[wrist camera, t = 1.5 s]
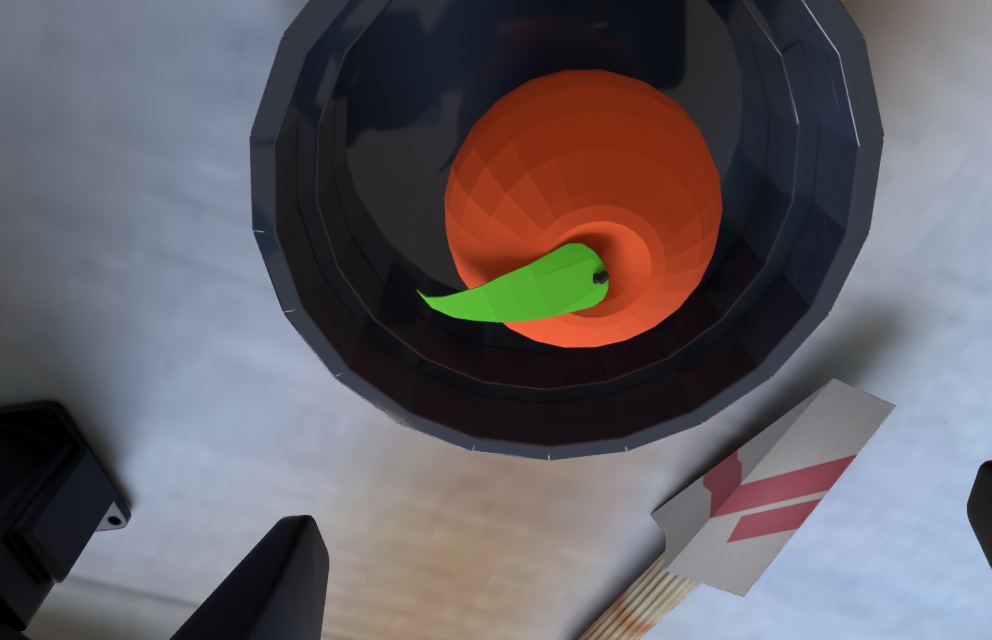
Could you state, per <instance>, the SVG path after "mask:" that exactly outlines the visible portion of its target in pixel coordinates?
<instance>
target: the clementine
mask: <svg viewBox="0 0 992 640" xmlns="http://www.w3.org/2000/svg"><path fill="white" fill-rule="evenodd" d="M444 199H445V220H446V233H447V238H448V243H449V247H450V250H451V253H452V255H453V258H454V261H455V264H456V267H457V270H458V273H459V275H460V277H461V278H462V280H463V281H464V282H465V284H466V285H467V287H468V288H469V289H468V290H465V291H461V292H458V293H454V294H450V295H447V296H437V297H427V296H426V295H424V294H423V293H422V292H420V291H419V290H418V289H417V290H416V291H417V292H418V293H419V294H420V295H421V296H422V297H423V299H424V300H425V301H426V302H427V303H428V304H429V305H430V307H431V308H433V309H436V310H438V311H440V312H442V313H445V314H447V315H449V316H452V317H454V318H461V319H468V320H475V321H488V322H502V323H504V324H505V325H506V326H507V327H508V328H510V329H512V330H514V331H516V332H518V333H520V334H522V335H524V336H526V337H529V338H531V339H533V340H535V341H538V342H543V343H547V344H552V345H557V346H561V347H598V346H603V345H607V344H611V343H616V342H620V341H625V340H627V339H629V338H632V337H634V336H636V335H638V334H640V333H642V332H645V331H647V330H649V329H651V328H653V327H655V326H656V325H657V324H659V323H660V322H661V321H663V320H664V319H665V318H667V317H668V316H669V315H671V314H672V313H673V312H674V311H676V310H677V309H678V308H679V307H680V306H681V305H682V304H683V303H684V301H685V300H686V299H687V298H688V297H689V295H690V294H691V293H692V292H693V290H694V289H695V288H696V287H697V286H698V284H699V283H700V281H701V279H702V277H703V274H704V272H705V270H706V268H707V266H708V264H709V262H710V260H711V258H712V256H713V252H714V249H715V245H716V242H717V237H718V231H719V226H720V220H721V215H722V199H721V189H720V179H719V174H718V172H717V169H716V167H715V164H714V162H713V160H712V157H711V155H710V152H709V150H708V148H707V145H706V143H705V141H704V138H703V136H702V134H701V131H700V129H699V128H698V127H697V126H696V124H695V123H694V122H693V121H692V120H691V119H690V117H689V116H688V115H687V114H686V113H685V111H684V110H683V109H682V108H681V107H680V106H679V104H678V103H677V102H675V101H674V100H672V99H671V98H669V97H667V96H666V95H664V94H663V93H661V92H660V91H658V90H656V89H655V88H653V87H652V86H650V85H649V84H647V83H645V82H643V81H640V80H637V79H634V78H631V77H627V76H624V75H620V74H616V73H613V72H609V71H606V70H602V69H592V70H563V71H559V72H556V73H552V74H549V75H545V76H542V77H538V78H534V79H531V80H529V81H527V82H526V83H524V84H522V85H521V86H519V87H517V88H516V89H514V90H512V91H511V92H509V93H507V94H506V95H504V96H502V97H501V98H499V99H498V100H497V101H496V102H495V103H494V104H493V105H492V106H491V107H490V108H489V109H488V110H487V111H486V113H485V114H484V115H483V116H482V117H481V118H480V119H479V120H478V121H477V122H476V123H475V124H474V126H473V127H472V129H471V130H470V132H469V134H468V136H467V138H466V139H465V141H464V143H463V145H462V147H461V148H460V150H459V152H458V154H457V156H456V157H455V159H454V161H453V163H452V167H451V171H450V175H449V180H448V184H447V188H446V192H445V197H444Z"/></svg>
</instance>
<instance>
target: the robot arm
mask: <svg viewBox="0 0 992 640" xmlns="http://www.w3.org/2000/svg"><path fill="white" fill-rule="evenodd" d="M48 413H49V414H48ZM50 414H51V415H50ZM967 515H968V518H969V521H970V524H971V526H972V528H973V530H974V533H975V535H976V537H977V539H978V541H979V543H980V545H981V548H982V550H983V552H984V554H985V556H986V558H987V560H988V562H989V565H990V567H991V569H992V460H989V461H986V462H984V463H983V464H982V465H981V466H980V468H979V470H978V473H977V476H976V479H975V482H974V485H973V488H972V490H971V493H970V496H969V499H968V503H967ZM130 518H131V512H130V510H129V509H128V507H127V506H126V504H125V502H124V501H123V499H122V498H121V496H120V494H119V493H118V491H117V490H116V488H115V486H114V485H113V483H112V482H111V480H110V479H109V477H108V475H107V474H106V472H105V471H104V469H103V467H102V466H101V464H100V463H99V461H98V459H97V458H96V456H95V455H94V453H93V451H92V450H91V448H90V447H89V445H88V444H87V442H86V440H85V439H84V437H83V436H82V434H81V432H80V431H79V429H78V428H77V426H76V424H75V423H74V421H73V420H72V418H71V417H70V415H69V413H68V412H67V410H66V409H65V408H64V407H63V405H61V404H59V403H58V402H55V401H48V400H46V401H39V402H31V403H24V404H16V405H9V406H1V407H0V640H34V639H32V638H30V637H29V636H27V635H26V634H24V633H22V632H21V631H24V630H25V629H26V628H27V626H28V625H29V623H30V622H31V620H32V618H33V617H34V615H35V614H36V612H37V611H38V609H39V608H40V606H41V604H42V603H43V601H44V600H45V598H46V597H47V595H48V593H49V592H50V590H51V589H52V587H53V586H54V584H55V583H60V582H62V581H63V580H64V579H65V578H66V576H67V575H68V573H69V572H70V570H71V568H72V567H73V565H74V564H75V562H76V560H77V559H78V557H79V556H80V554H81V553H82V551H83V549H84V548H85V546H86V545H87V543H88V541H89V540H90V538H91V537H92V535H93V533H94V532H98V531H106V530H115V529H121V528H124V527H125V526H126V525H127V524H128V522H129V520H130ZM328 574H329V555H328V551H327V548H326V546H325V543H324V541H323V539H322V536H321V534H320V531H319V529H318V526H317V524H316V522H315V520H314V518H313V517H312V516H310V515H299V516H287V517H284V518H282V519H281V520H279V521H278V522H277V523H276V524H275V525H274V526H273V528H272V529H271V530H270V531H269V532H268V533H267V534H266V535H265V536H264V537H263V538H262V539H261V541H260V542H259V543H258V544H257V545H256V546H255V547H254V548H253V549H252V550H251V551H250V553H249V554H248V555H247V556H246V557H245V558H244V559H243V560H242V561H241V562H240V563H239V564H238V566H237V567H236V568H235V569H234V570H233V571H232V572H231V573H230V574H229V575H228V576H227V577H226V579H225V580H224V581H223V582H222V583H221V584H220V585H219V586H218V587H217V588H216V589H215V591H214V592H213V593H212V594H211V595H210V596H209V597H208V598H207V599H206V600H205V601H204V602H203V604H202V605H201V606H200V607H199V608H198V609H197V610H196V611H195V612H194V613H193V614H192V615H191V617H190V618H189V619H188V620H187V621H186V622H185V623H184V624H183V625H182V626H181V627H180V629H179V630H178V631H177V632H176V633H175V634H174V635H173V636H172V637H171V638H170V639H169V640H320V639H321V630H322V622H323V614H324V606H325V598H326V590H327V582H328Z"/></svg>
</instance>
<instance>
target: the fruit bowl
mask: <svg viewBox="0 0 992 640" xmlns="http://www.w3.org/2000/svg"><path fill="white" fill-rule="evenodd" d="M592 69H602V70H606V71H609V72H613V73H616V74H620V75H624V76H627V77H631V78H634V79H637V80H640V81H643V82H645V83H647V84H649V85H650V86H652V87H653V88H655V89H656V90H658V91H660V92H661V93H663V94H664V95H666V96H667V97H669V98H671V99H672V100H674V101H675V102H677V103H678V104H679V106H680V107H681V108H682V109H683V110H684V111H685V113H686V114H687V115H688V116H689V117H690V119H691V120H692V121H693V122H694V123H695V124H696V126H697V127H698V128H699V129H700V131H701V134H702V136H703V138H704V141H705V143H706V145H707V148H708V150H709V152H710V155H711V157H712V160H713V162H714V164H715V167H716V169H717V172H718V174H719V179H720V189H721V199H722V215H721V220H720V226H719V231H718V237H717V242H716V245H715V249H714V252H713V256H712V258H711V260H710V262H709V264H708V266H707V268H706V270H705V272H704V274H703V277H702V279H701V281H700V283H699V284H698V286H697V287H696V288H695V289H694V290H693V292H692V293H691V294H690V295H689V297H688V298H687V299H686V300H685V301H684V303H683V304H682V305H681V306H680V307H679V308H678V309H677V310H676V311H674V312H673V313H672V314H671V315H669V316H668V317H667V318H665V319H664V320H663V321H661V322H660V323H659V324H657V325H656V326H655V327H653V328H651V329H649V330H647V331H645V332H642V333H640V334H638V335H636V336H634V337H632V338H629V339H627V340H625V341H620V342H616V343H611V344H607V345H603V346H598V347H561V346H557V345H552V344H547V343H543V342H538V341H535V340H533V339H531V338H529V337H526V336H524V335H522V334H520V333H518V332H516V331H514V330H512V329H510V328H508V327H507V326H506V325H505V324H504V323H502V322H488V321H475V320H468V319H461V318H454V317H452V316H449V315H447V314H445V313H442V312H440V311H438V310H436V309H433V308H431V307H430V305H429V304H428V303H427V302H426V301H425V300H424V299H423V297H422V296H421V295H420V294H419V293H418V292H417V291H416V290H417V289H418V290H419V291H420V292H422V293H423V294H424V295H426V296H427V297H437V296H447V295H450V294H454V293H458V292H461V291H465V290H468V289H469V288H468V287H467V285H466V284H465V282H464V281H463V280H462V278H461V277H460V275H459V273H458V270H457V267H456V264H455V261H454V258H453V255H452V253H451V250H450V247H449V243H448V238H447V233H446V220H445V199H444V197H445V192H446V188H447V184H448V180H449V175H450V171H451V167H452V163H453V161H454V159H455V157H456V156H457V154H458V152H459V150H460V148H461V147H462V145H463V143H464V141H465V139H466V138H467V136H468V134H469V132H470V130H471V129H472V127H473V126H474V124H475V123H476V122H477V121H478V120H479V119H480V118H481V117H482V116H483V115H484V114H485V113H486V111H487V110H488V109H489V108H490V107H491V106H492V105H493V104H494V103H495V102H496V101H497V100H498V99H499V98H501V97H502V96H504V95H506V94H507V93H509V92H511V91H512V90H514V89H516V88H517V87H519V86H521V85H522V84H524V83H526V82H527V81H529V80H531V79H534V78H538V77H542V76H545V75H549V74H552V73H556V72H559V71H563V70H592ZM883 137H884V133H883V128H882V123H881V118H880V113H879V108H878V103H877V98H876V93H875V88H874V83H873V78H872V73H871V68H870V63H869V58H868V53H867V48H866V42H865V39H864V37H863V34H862V33H861V31H860V30H859V28H858V27H857V25H856V23H855V22H854V20H853V19H852V17H851V16H850V14H849V13H848V11H847V10H846V8H845V7H844V5H843V3H842V2H841V0H309V2H308V3H307V4H306V5H305V7H304V8H303V9H302V10H301V12H300V13H299V14H298V16H297V17H296V18H295V19H294V21H293V22H292V23H291V24H290V26H289V27H288V28H287V30H286V31H285V32H284V36H283V37H282V38H281V41H280V44H279V47H278V50H277V53H276V56H275V59H274V62H273V65H272V68H271V71H270V74H269V78H268V81H267V84H266V87H265V90H264V93H263V96H262V99H261V102H260V105H259V108H258V111H257V114H256V117H255V121H254V124H253V127H252V130H251V136H250V169H251V204H252V230H253V231H254V236H255V239H256V241H257V244H258V247H259V249H260V252H261V255H262V257H263V260H264V263H265V265H266V268H267V271H268V273H269V276H270V279H271V281H272V284H273V287H274V289H275V292H276V295H277V297H278V300H279V303H280V305H281V308H282V311H283V312H284V315H285V316H286V318H287V319H288V320H289V321H290V323H291V324H292V325H293V326H294V328H295V329H296V330H297V332H298V333H299V334H300V335H301V337H302V338H303V339H304V340H305V342H306V343H307V344H308V346H309V347H310V348H311V349H312V351H313V352H314V353H315V354H316V356H317V357H318V358H319V360H320V361H321V362H322V363H323V365H324V366H325V367H326V368H327V370H328V371H329V372H330V374H331V375H332V376H333V377H335V379H336V380H337V381H339V382H340V383H341V384H343V385H344V386H346V387H347V388H348V389H350V390H351V391H353V392H354V393H355V394H357V395H358V396H360V397H361V398H362V399H364V400H365V401H367V402H368V403H369V404H371V405H372V406H374V407H375V408H376V409H378V410H379V411H381V412H382V413H383V414H385V415H386V416H388V417H389V418H390V419H392V420H393V421H395V422H396V423H398V424H400V425H401V426H404V427H407V428H409V429H412V430H415V431H417V432H420V433H423V434H425V435H428V436H431V437H433V438H436V439H439V440H441V441H444V442H447V443H449V444H452V445H455V446H457V447H460V448H463V449H465V450H468V451H473V452H480V453H489V454H498V455H506V456H515V457H524V458H532V459H541V460H548V459H549V460H558V459H566V458H575V457H583V456H591V455H600V454H608V453H617V452H625V451H626V450H627V451H629V450H632V449H634V448H637V447H640V446H643V445H645V444H648V443H651V442H654V441H656V440H659V439H662V438H665V437H667V436H670V435H673V434H676V433H678V432H681V431H684V430H687V429H689V428H692V427H695V426H697V425H700V424H701V423H703V422H705V421H707V420H708V419H710V418H711V417H713V416H714V415H716V414H717V413H719V412H720V411H722V410H723V409H725V408H726V407H728V406H729V405H731V404H732V403H734V402H735V401H737V400H738V399H740V398H741V397H743V396H744V395H746V394H747V393H749V392H750V391H752V390H753V389H755V388H756V387H758V386H759V385H761V384H762V383H764V382H765V381H767V380H768V379H770V377H772V376H774V374H775V373H776V372H777V371H778V370H779V369H780V368H781V367H782V366H783V364H784V363H785V362H786V361H787V360H788V359H789V358H790V357H791V356H792V354H793V353H794V352H795V351H796V350H797V349H798V348H799V347H800V346H801V345H802V343H803V342H804V341H805V340H806V339H807V338H808V337H809V336H810V335H811V333H812V332H813V331H814V330H815V329H816V328H817V327H818V326H819V325H820V323H821V322H822V321H823V320H824V319H825V318H826V317H827V316H828V314H829V313H828V312H830V311H831V309H832V307H833V305H834V303H835V301H836V299H837V297H838V295H839V293H840V291H841V289H842V287H843V285H844V283H845V281H846V279H847V277H848V275H849V273H850V271H851V269H852V267H853V265H854V263H855V261H856V259H857V257H858V255H859V253H860V250H861V248H862V246H863V244H864V242H865V240H866V238H867V236H868V234H869V232H868V231H869V230H870V226H871V219H872V213H873V206H874V200H875V193H876V187H877V180H878V173H879V167H880V160H881V154H882V147H883Z"/></svg>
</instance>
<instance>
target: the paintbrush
mask: <svg viewBox="0 0 992 640" xmlns="http://www.w3.org/2000/svg"><path fill="white" fill-rule="evenodd" d="M895 407H896V405H893V404H891V403H889V402H887V401H884V400H882V399H880V398H878V397H875V396H873V395H871V394H869V393H866V392H864V391H862V390H860V389H857V388H855V387H853V386H851V385H848V384H846V383H844V382H842V381H839V380H837V379H835V378H833V379H832V380H830V381H829V382H828V383H826V384H825V385H824V386H822V387H821V388H819V389H818V390H817V391H815V392H814V393H813V394H811V395H810V396H809V397H807V398H806V399H805V400H803V401H802V402H801V403H799V404H798V405H797V406H795V407H794V408H793V409H791V410H790V411H789V412H787V413H786V414H785V415H783V416H782V417H781V418H779V419H778V420H777V421H775V422H774V423H773V424H771V425H770V426H769V427H767V428H766V429H765V430H763V431H762V432H761V433H759V434H758V435H757V436H755V437H754V438H753V439H751V440H750V441H749V442H747V443H746V444H745V445H743V446H742V447H741V448H739V449H738V450H736V451H735V452H734V453H732V454H731V455H730V456H728V457H727V458H726V459H724V460H723V461H722V462H720V463H719V464H718V465H716V466H715V467H714V468H712V469H711V470H710V471H708V472H707V473H706V474H704V475H703V476H702V477H700V478H699V479H698V480H696V481H695V482H694V483H692V484H691V485H690V486H688V487H687V488H686V489H684V490H683V491H682V492H680V493H679V494H678V495H676V496H675V497H674V498H672V499H671V500H670V501H668V502H667V503H666V504H664V505H663V506H662V507H660V508H659V509H658V510H656V511H655V512H653V513H652V514H651V517H652V518H653V519H654V521H655V522H656V523H657V524H658V526H659V527H660V528H661V529H662V531H663V532H664V533H665V534H666V549H665V552H664V553H663V554H662V555H661V556H660V557H659V558H658V559H657V560H656V561H655V562H654V563H653V564H652V565H651V566H650V567H649V568H648V569H647V570H646V571H645V572H644V573H643V574H642V575H641V576H640V577H639V578H638V579H637V580H636V581H635V582H634V583H633V584H632V585H631V586H630V587H629V588H628V589H627V590H626V591H625V592H624V593H623V594H622V595H621V596H620V597H619V598H618V599H617V600H616V601H615V602H614V603H613V604H612V605H611V606H610V607H609V608H608V609H607V610H606V611H605V612H604V613H603V614H602V615H601V616H600V617H599V618H598V619H597V620H596V621H595V622H594V623H593V624H592V625H591V626H590V627H589V628H588V629H587V630H586V632H585V633H584V634H583V635H582V636H581V637H580V638H579V639H578V640H639V639H640V638H641V637H642V636H643V635H644V634H646V633H647V632H648V631H649V630H650V629H651V628H652V627H653V626H654V625H655V624H657V623H658V622H659V621H660V620H661V619H662V618H663V617H664V616H665V615H667V614H668V613H669V612H670V611H671V610H672V609H673V608H674V607H675V606H676V605H677V604H678V603H680V602H681V601H682V600H683V599H684V598H685V597H686V596H687V595H688V594H689V593H690V592H691V591H693V590H694V589H695V588H696V587H697V586H698V585H699V584H700V583H703V584H706V585H709V586H712V587H715V588H718V589H721V590H724V591H727V592H730V593H733V594H736V595H739V596H742V597H744V596H745V595H746V594H747V592H748V591H749V590H750V589H751V587H752V586H753V585H754V584H755V582H756V581H757V580H758V579H759V577H760V576H761V575H762V574H763V572H764V571H765V570H766V569H767V567H768V566H769V565H770V564H771V562H772V561H773V560H774V559H775V557H776V556H777V555H778V554H779V552H780V551H781V550H782V549H783V547H784V546H785V545H786V544H787V542H788V541H789V540H790V538H791V537H792V536H793V535H794V533H795V532H796V531H797V530H798V528H799V527H800V526H801V525H802V523H803V522H804V521H805V520H806V518H807V517H808V516H809V515H810V513H811V512H812V511H813V510H814V508H815V507H816V506H817V505H818V503H819V502H820V501H821V500H822V498H823V497H824V496H825V495H826V493H827V492H828V491H829V490H830V488H831V487H832V486H833V485H834V483H835V482H836V481H837V479H838V478H839V477H840V476H841V474H842V473H843V472H844V471H845V469H846V468H847V467H848V466H849V464H850V463H851V462H852V461H853V459H854V458H855V457H856V456H857V454H858V453H859V452H860V451H861V449H862V448H863V447H864V446H865V444H866V443H867V442H868V441H869V439H870V438H871V437H872V436H873V434H874V433H875V432H876V431H877V429H878V428H879V427H880V425H881V424H882V423H883V422H884V420H885V419H886V418H887V417H888V415H889V414H890V413H891V412H892V410H893V409H894V408H895Z"/></svg>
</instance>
